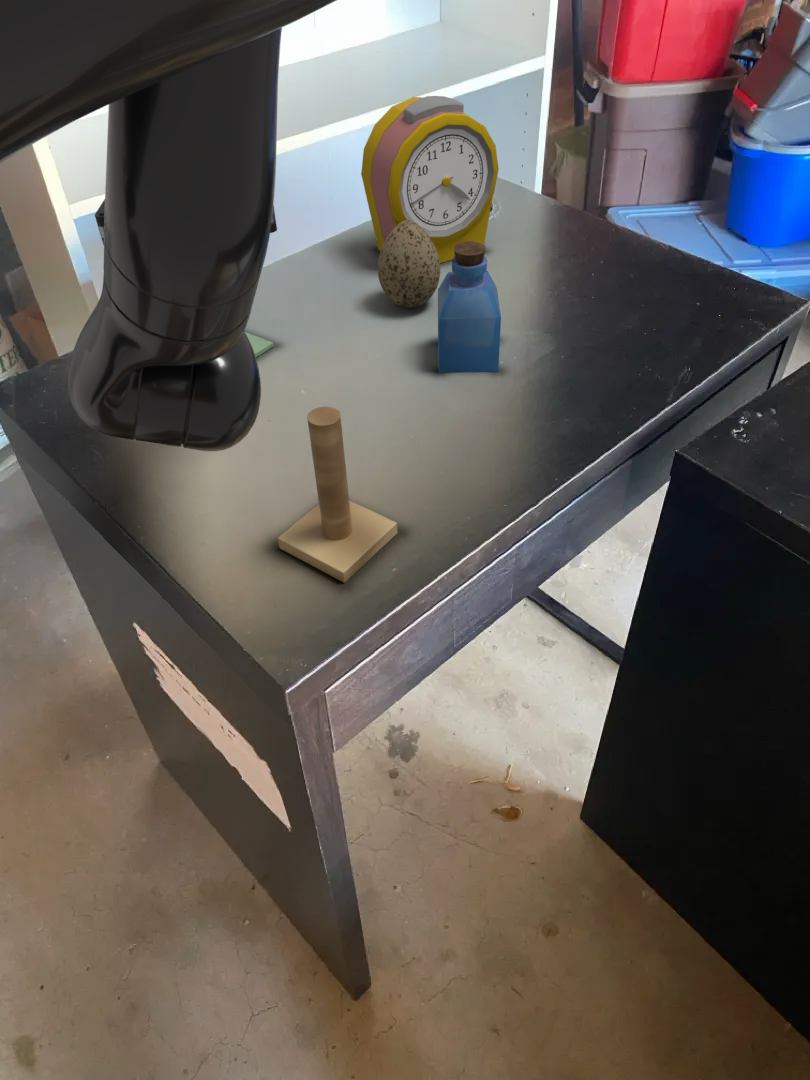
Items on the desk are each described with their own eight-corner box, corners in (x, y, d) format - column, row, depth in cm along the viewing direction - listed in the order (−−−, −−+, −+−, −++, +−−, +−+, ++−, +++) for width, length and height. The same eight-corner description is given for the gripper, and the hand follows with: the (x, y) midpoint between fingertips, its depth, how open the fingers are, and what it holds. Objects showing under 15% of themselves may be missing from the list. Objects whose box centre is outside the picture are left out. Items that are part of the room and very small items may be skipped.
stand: (344, 583, 65) (329, 457, 56) (278, 548, 68) (255, 423, 59) (398, 533, 69) (391, 407, 60) (333, 502, 72) (318, 378, 63)
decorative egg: (452, 300, 98) (453, 216, 91) (416, 325, 94) (414, 239, 87) (404, 284, 101) (401, 202, 94) (367, 308, 97) (361, 224, 90)
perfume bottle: (498, 371, 86) (504, 261, 78) (438, 372, 86) (438, 263, 78) (494, 340, 91) (499, 233, 82) (438, 342, 91) (437, 235, 83)
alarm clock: (395, 277, 102) (388, 118, 90) (366, 253, 108) (356, 99, 95) (497, 250, 107) (504, 95, 94) (465, 228, 112) (467, 78, 100)
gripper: (275, 199, 57) (270, 124, 70) (64, 218, 56) (96, 138, 68) (289, 299, 63) (282, 212, 75) (96, 318, 61) (121, 227, 74)
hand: (193, 177), depth 72 cm, fingers closed on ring, 6 cm apart
